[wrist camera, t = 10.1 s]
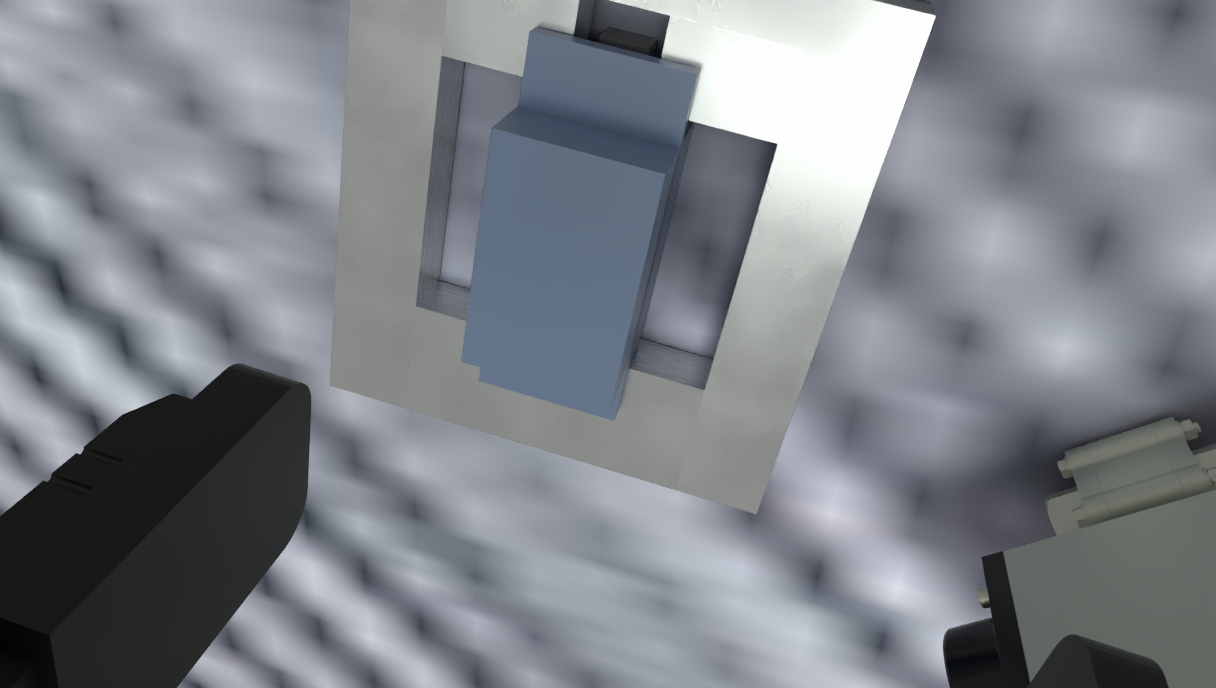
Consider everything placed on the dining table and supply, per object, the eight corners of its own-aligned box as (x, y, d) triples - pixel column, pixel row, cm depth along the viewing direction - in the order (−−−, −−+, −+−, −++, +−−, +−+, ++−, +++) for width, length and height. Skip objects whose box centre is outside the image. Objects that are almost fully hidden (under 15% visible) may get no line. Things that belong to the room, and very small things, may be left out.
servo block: (558, 13, 27) (502, 47, 23) (711, 51, 26) (684, 94, 22) (506, 340, 32) (453, 418, 28) (632, 376, 32) (598, 461, 28)
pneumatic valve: (921, 474, 31) (954, 791, 21) (1327, 338, 26) (1632, 665, 16) (988, 595, 33) (1049, 944, 23) (1382, 489, 28) (1691, 872, 18)
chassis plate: (389, -129, 26) (357, -126, 24) (930, 2, 25) (935, 15, 23) (356, 357, 34) (329, 385, 32) (761, 478, 33) (756, 514, 31)
